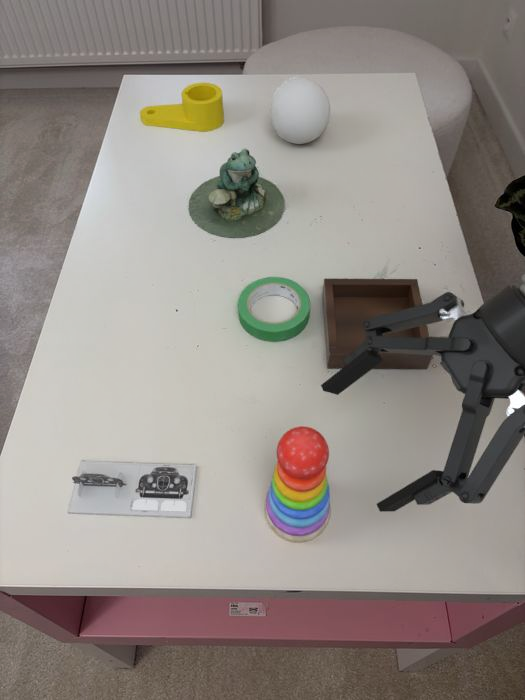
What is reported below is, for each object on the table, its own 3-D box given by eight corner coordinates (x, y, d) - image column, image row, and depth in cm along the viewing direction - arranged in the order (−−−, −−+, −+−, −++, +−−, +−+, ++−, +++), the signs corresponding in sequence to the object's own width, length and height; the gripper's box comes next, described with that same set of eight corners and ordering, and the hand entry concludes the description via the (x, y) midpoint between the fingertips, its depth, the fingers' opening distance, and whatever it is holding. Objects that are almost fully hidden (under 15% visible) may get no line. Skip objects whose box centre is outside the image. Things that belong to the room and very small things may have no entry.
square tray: (426, 369, 75) (433, 355, 72) (327, 368, 75) (329, 354, 72) (412, 294, 83) (417, 278, 80) (322, 293, 84) (324, 278, 81)
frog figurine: (214, 250, 89) (207, 195, 80) (173, 192, 99) (163, 136, 89) (302, 217, 94) (306, 161, 85) (256, 164, 103) (254, 108, 94)
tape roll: (229, 298, 83) (227, 287, 81) (292, 279, 85) (293, 268, 83) (253, 351, 77) (252, 340, 75) (320, 329, 79) (322, 318, 77)
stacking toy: (341, 502, 64) (364, 435, 49) (307, 558, 60) (321, 504, 45) (287, 468, 67) (293, 394, 51) (252, 519, 63) (246, 456, 47)
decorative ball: (303, 116, 113) (306, 59, 103) (339, 142, 107) (346, 85, 98) (258, 135, 109) (257, 78, 99) (293, 163, 103) (295, 105, 94)
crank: (225, 109, 115) (223, 82, 110) (222, 131, 110) (220, 104, 105) (145, 108, 115) (139, 81, 110) (138, 130, 111) (132, 102, 106)
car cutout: (68, 513, 63) (56, 501, 60) (81, 462, 67) (71, 447, 64) (190, 518, 63) (185, 506, 59) (196, 466, 67) (192, 451, 63)
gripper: (662, 450, 39) (432, 564, 49) (480, 233, 52) (329, 356, 62) (647, 441, 34) (393, 571, 43) (449, 202, 47) (289, 342, 57)
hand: (355, 445), depth 53 cm, fingers open, 13 cm apart
